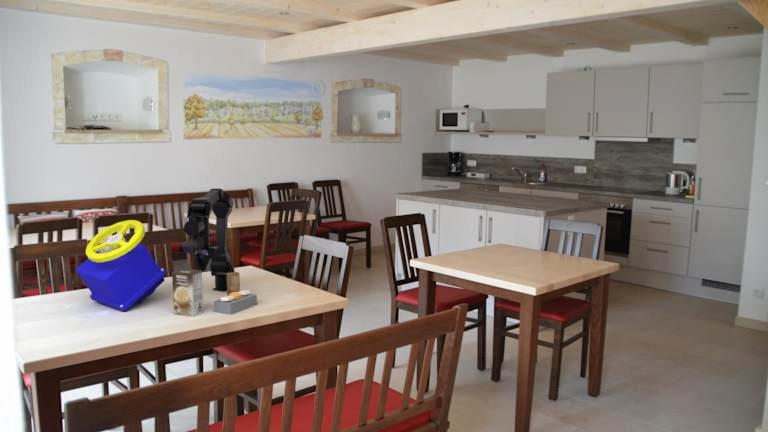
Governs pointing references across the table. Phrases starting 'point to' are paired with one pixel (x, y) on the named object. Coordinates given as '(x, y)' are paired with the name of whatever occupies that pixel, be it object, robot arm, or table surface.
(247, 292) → the block
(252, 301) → the switch panel
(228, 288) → the wood post
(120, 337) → the table surface
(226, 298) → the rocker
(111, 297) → the control box
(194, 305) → the coffee box
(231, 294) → the block
